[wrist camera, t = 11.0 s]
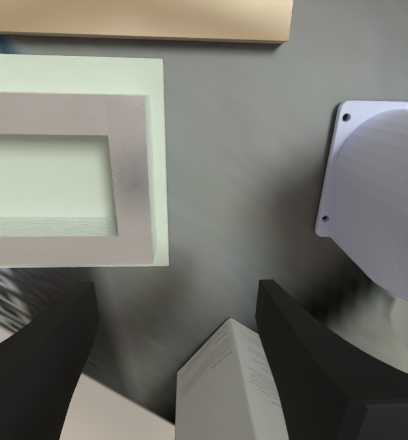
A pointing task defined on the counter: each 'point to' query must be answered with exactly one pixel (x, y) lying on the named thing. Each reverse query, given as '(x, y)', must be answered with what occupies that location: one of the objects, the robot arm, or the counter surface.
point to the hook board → (151, 19)
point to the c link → (121, 173)
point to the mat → (77, 144)
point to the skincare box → (229, 390)
